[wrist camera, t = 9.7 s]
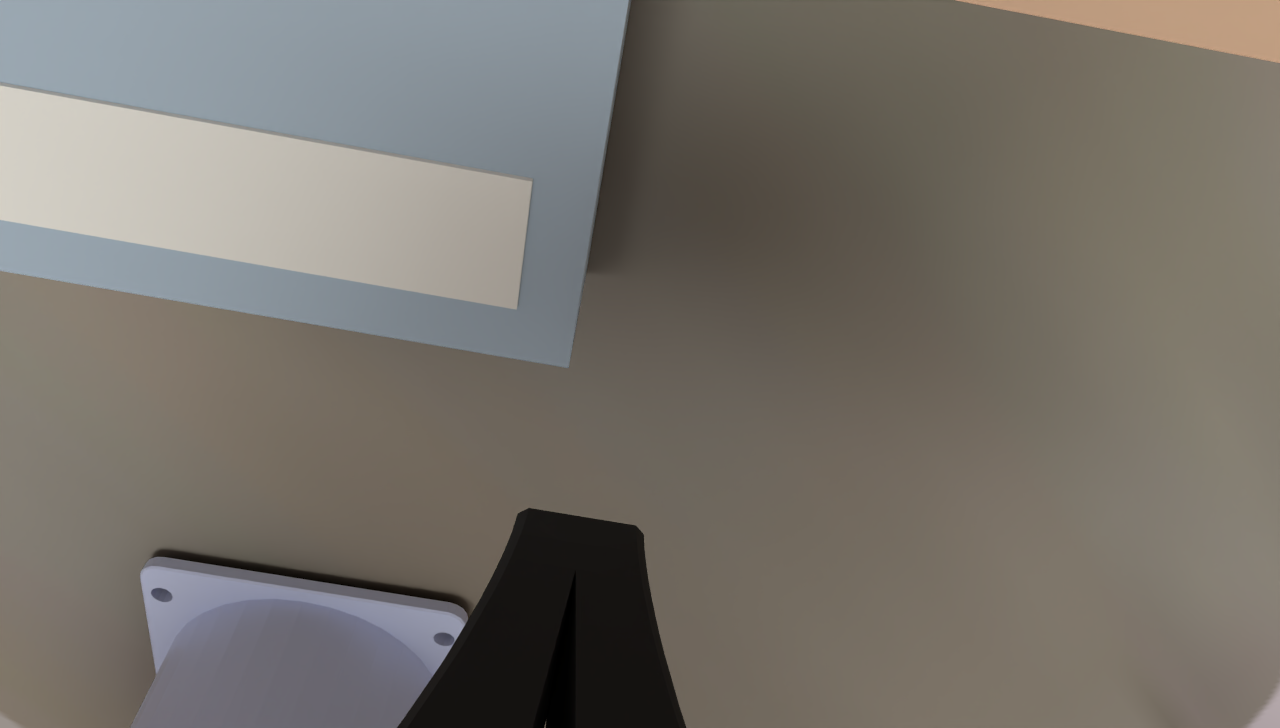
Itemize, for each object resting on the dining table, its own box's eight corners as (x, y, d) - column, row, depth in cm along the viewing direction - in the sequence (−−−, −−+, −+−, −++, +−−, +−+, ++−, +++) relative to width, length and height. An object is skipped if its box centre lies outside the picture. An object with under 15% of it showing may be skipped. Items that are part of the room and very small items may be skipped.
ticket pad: (585, 275, 21) (566, 375, 19) (-97, 155, 20) (-213, 241, 18) (647, -99, 17) (633, -35, 14) (-209, -266, 16) (-383, -231, 14)
